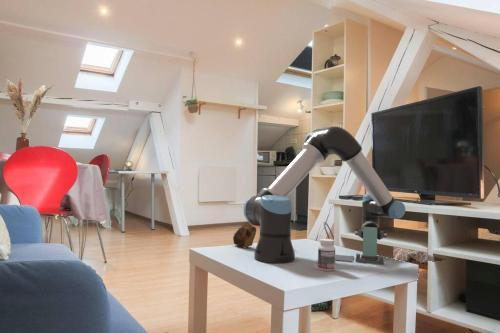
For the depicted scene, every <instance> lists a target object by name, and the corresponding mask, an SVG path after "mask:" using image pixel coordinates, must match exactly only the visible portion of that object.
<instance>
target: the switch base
mask: <svg viewBox="0 0 500 333" xmlns="http://www.w3.org/2000/svg"><path fill="white" fill-rule="evenodd" d="M384 260H385V259H384V255H378V260H377V259H366V258H361V253H356V254H355V263H359V264H360V263H362V264H371V265H383V266H384V265H385V261H384Z"/></svg>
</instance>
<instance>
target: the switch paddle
mask: <svg viewBox="0 0 500 333" xmlns="http://www.w3.org/2000/svg"><path fill="white" fill-rule="evenodd" d="M360 258H366V259H377V260H378V259H379V255H378V239H377V228H375V227H363V238H362V253H360Z"/></svg>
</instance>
